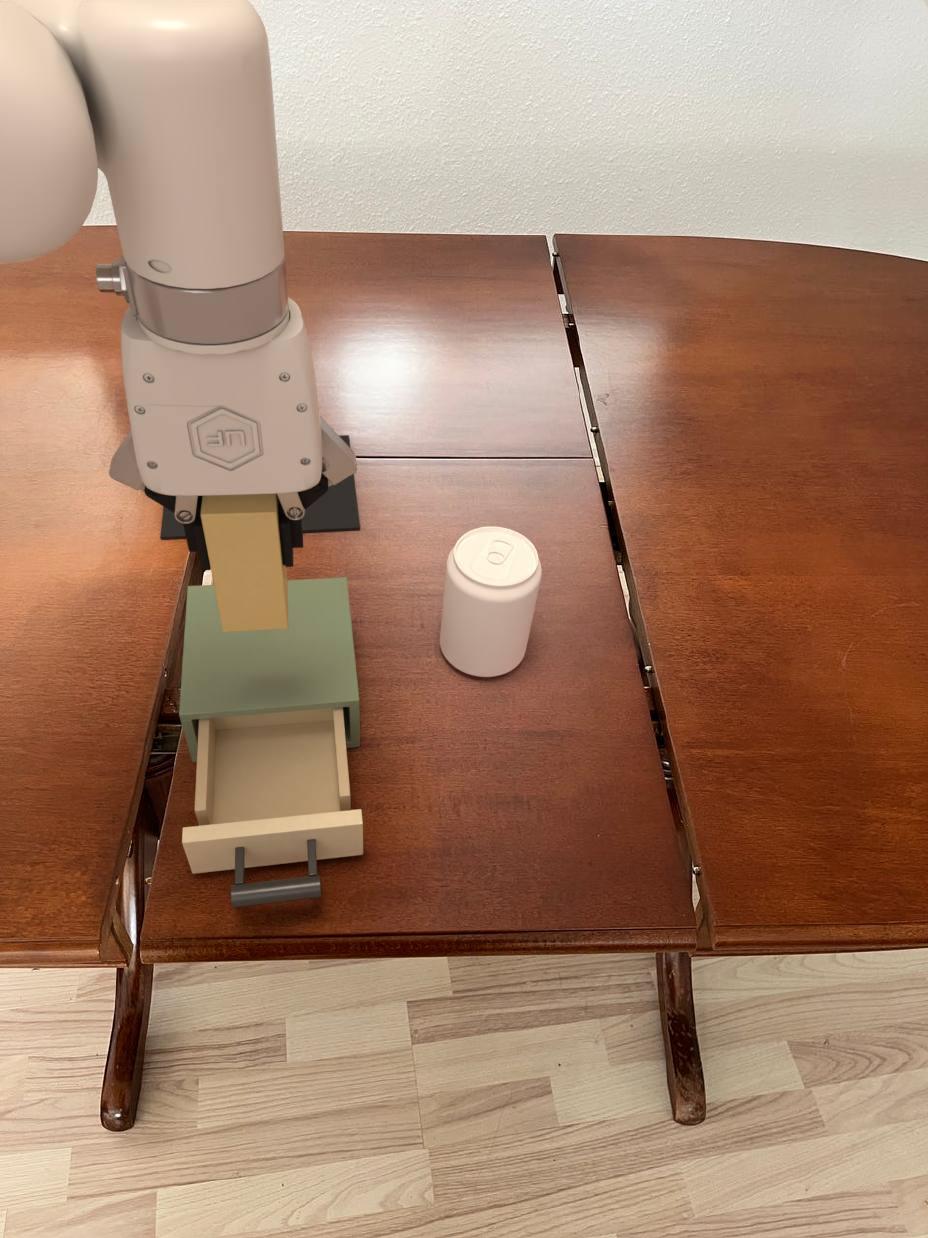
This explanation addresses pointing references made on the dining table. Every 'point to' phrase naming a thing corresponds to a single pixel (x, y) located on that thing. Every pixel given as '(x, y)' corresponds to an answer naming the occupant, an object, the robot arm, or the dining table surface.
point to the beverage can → (489, 601)
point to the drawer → (272, 800)
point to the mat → (321, 516)
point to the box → (246, 560)
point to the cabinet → (271, 660)
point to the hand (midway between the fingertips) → (248, 551)
